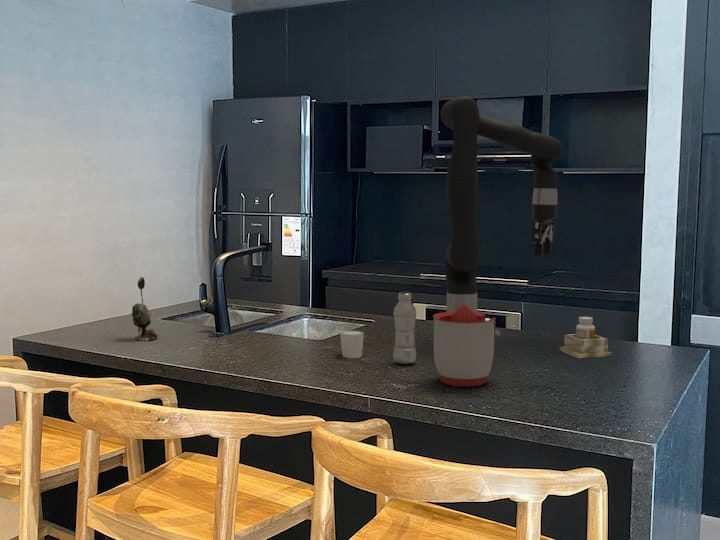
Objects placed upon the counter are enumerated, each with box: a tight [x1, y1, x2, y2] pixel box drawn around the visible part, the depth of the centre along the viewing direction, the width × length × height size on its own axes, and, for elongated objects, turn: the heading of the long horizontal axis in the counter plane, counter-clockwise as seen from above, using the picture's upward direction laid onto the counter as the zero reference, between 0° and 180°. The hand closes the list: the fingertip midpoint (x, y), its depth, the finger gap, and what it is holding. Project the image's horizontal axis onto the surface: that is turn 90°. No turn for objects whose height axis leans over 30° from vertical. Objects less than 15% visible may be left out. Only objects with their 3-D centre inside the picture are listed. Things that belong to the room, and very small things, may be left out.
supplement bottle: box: [575, 316, 596, 339], centre depth 227 cm, size 5×5×10 cm
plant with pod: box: [131, 276, 159, 342], centre depth 248 cm, size 8×11×20 cm
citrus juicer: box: [432, 304, 501, 388], centre depth 193 cm, size 16×17×20 cm
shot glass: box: [339, 330, 364, 359], centre depth 223 cm, size 7×7×7 cm
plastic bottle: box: [392, 291, 417, 365], centre depth 213 cm, size 6×7×20 cm
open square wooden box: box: [558, 333, 613, 359], centre depth 227 cm, size 11×11×5 cm
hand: (542, 254), depth 240 cm, fingers open, 8 cm apart
